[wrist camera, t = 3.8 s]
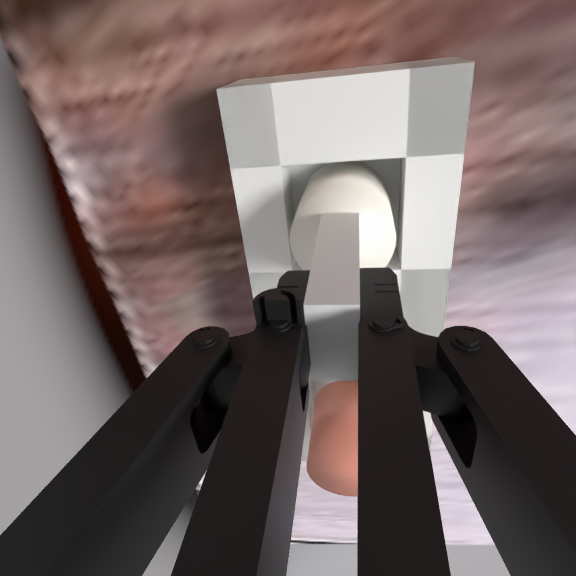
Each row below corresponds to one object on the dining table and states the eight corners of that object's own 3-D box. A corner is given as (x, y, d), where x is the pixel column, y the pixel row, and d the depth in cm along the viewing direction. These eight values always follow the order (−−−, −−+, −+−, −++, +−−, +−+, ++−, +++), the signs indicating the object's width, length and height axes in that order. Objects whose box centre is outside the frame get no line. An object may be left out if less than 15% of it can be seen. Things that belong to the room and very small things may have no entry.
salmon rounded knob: (311, 378, 24) (303, 441, 20) (387, 380, 23) (393, 445, 20) (316, 428, 26) (309, 493, 23) (386, 432, 26) (391, 499, 22)
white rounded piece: (298, 163, 20) (284, 193, 16) (390, 157, 19) (397, 187, 16) (305, 244, 22) (295, 286, 19) (388, 242, 22) (394, 285, 18)
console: (240, 79, 20) (216, 88, 17) (453, 56, 18) (474, 62, 15) (289, 415, 32) (281, 459, 29) (420, 421, 31) (427, 468, 27)
